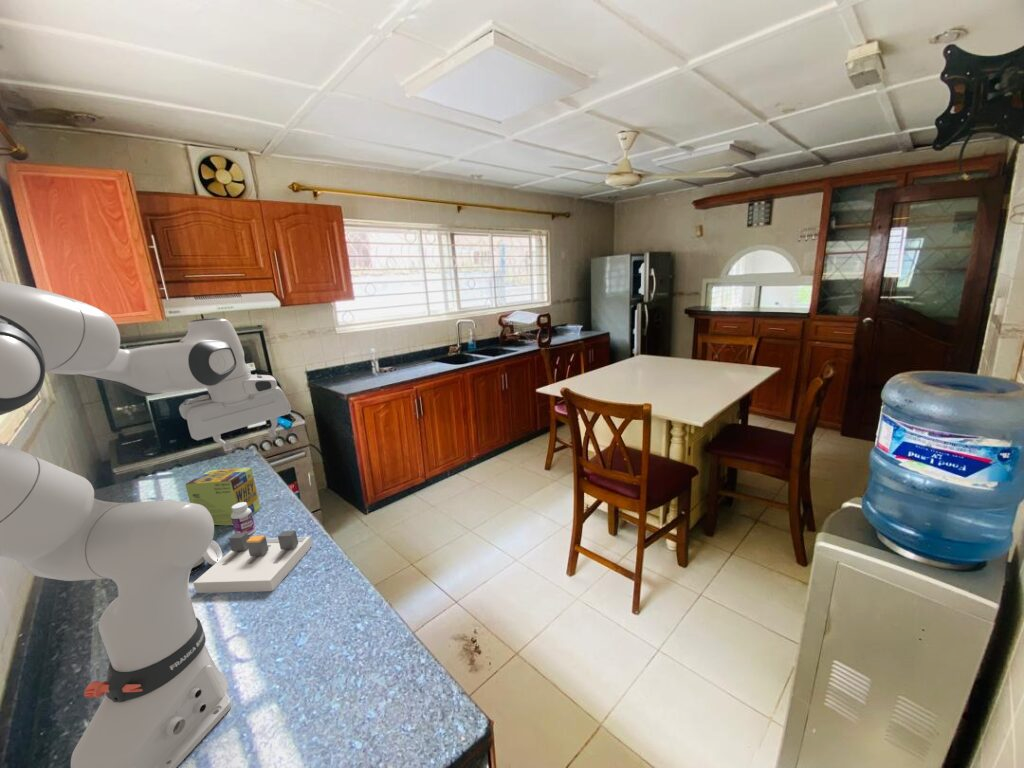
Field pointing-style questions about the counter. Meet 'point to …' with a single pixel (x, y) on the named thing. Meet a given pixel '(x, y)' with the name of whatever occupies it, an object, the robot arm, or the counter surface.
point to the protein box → (224, 492)
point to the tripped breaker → (257, 545)
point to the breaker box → (252, 569)
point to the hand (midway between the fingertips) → (251, 442)
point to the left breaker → (239, 541)
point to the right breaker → (288, 540)
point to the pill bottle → (242, 519)
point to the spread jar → (209, 556)
